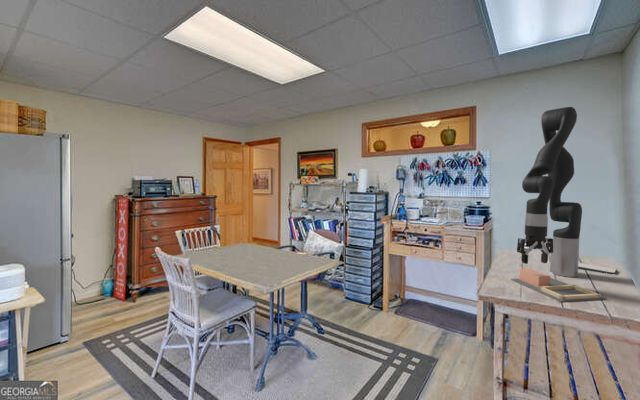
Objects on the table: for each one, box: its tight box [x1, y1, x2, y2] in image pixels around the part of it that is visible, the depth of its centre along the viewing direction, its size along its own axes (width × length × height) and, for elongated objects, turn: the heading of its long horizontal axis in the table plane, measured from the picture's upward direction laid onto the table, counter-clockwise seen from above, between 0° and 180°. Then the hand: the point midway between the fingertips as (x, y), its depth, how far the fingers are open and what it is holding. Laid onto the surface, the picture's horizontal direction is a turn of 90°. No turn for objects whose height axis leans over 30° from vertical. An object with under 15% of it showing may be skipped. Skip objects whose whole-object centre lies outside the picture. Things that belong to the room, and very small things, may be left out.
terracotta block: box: [518, 268, 551, 287], centre depth 123 cm, size 10×5×4 cm, turn 5°
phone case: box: [578, 262, 618, 275], centre depth 142 cm, size 9×2×16 cm
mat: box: [510, 277, 608, 303], centre depth 117 cm, size 24×18×2 cm
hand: (534, 263), depth 122 cm, fingers open, 8 cm apart
